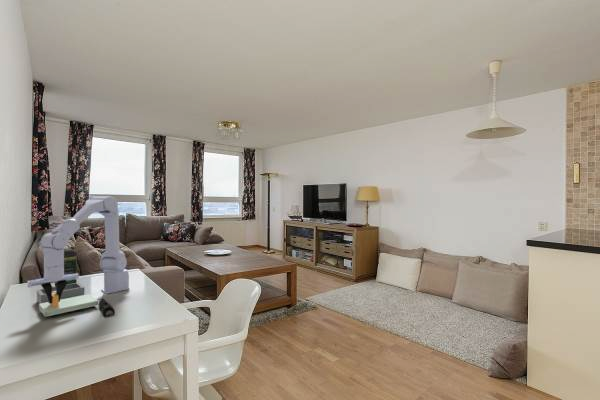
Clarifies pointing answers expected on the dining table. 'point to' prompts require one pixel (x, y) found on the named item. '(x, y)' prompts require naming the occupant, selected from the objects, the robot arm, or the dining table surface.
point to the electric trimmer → (106, 308)
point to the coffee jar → (70, 264)
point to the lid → (67, 304)
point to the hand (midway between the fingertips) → (54, 302)
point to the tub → (68, 292)
